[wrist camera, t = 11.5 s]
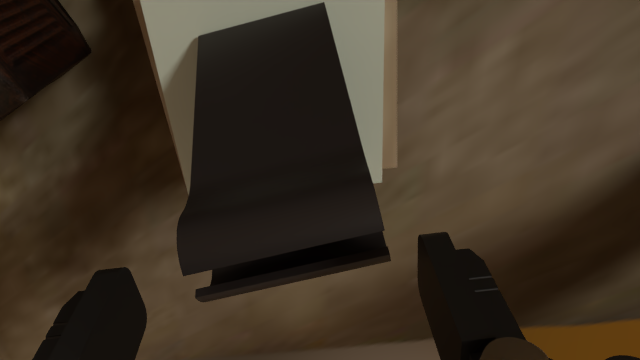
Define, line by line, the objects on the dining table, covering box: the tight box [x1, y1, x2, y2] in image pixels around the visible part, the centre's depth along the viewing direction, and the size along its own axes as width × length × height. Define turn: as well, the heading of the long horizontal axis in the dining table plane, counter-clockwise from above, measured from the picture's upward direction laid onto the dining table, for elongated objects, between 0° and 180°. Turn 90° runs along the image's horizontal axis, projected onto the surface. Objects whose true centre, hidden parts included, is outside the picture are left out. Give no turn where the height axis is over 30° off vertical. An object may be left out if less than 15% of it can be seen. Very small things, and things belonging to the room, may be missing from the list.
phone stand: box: [177, 2, 391, 302], centre depth 18 cm, size 9×6×12 cm, turn 13°
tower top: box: [140, 0, 385, 196], centre depth 25 cm, size 11×11×4 cm
